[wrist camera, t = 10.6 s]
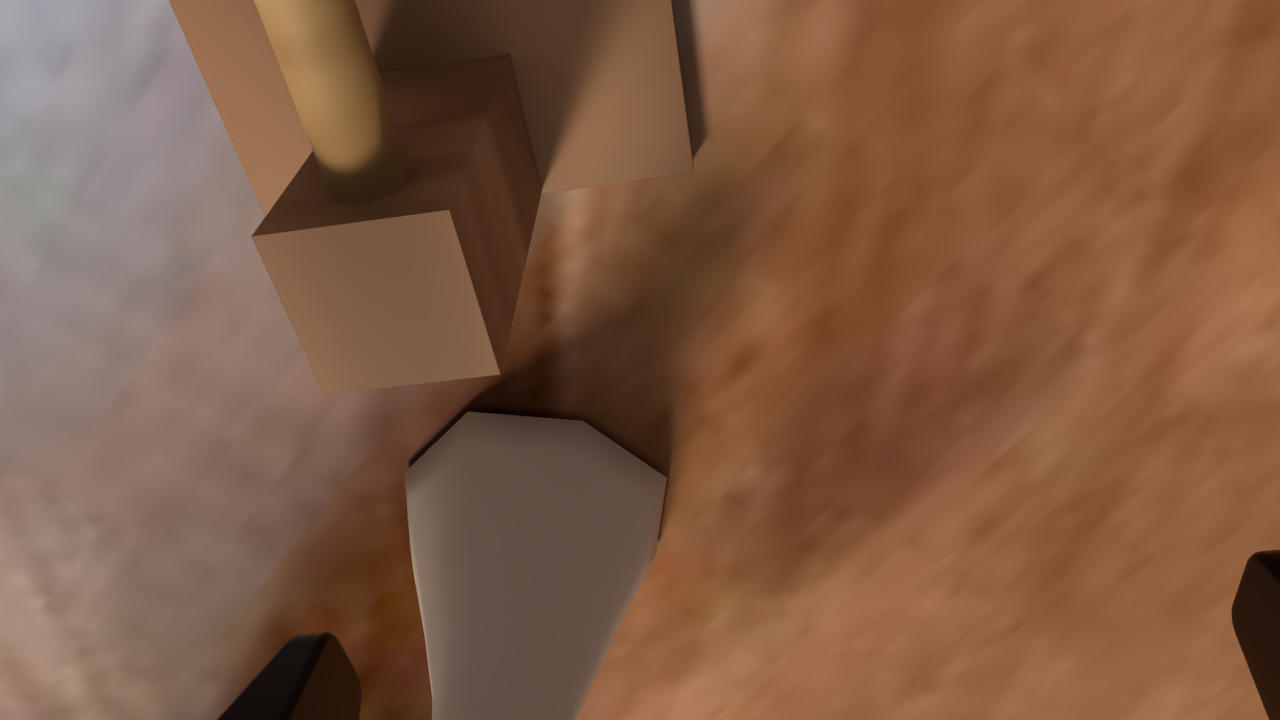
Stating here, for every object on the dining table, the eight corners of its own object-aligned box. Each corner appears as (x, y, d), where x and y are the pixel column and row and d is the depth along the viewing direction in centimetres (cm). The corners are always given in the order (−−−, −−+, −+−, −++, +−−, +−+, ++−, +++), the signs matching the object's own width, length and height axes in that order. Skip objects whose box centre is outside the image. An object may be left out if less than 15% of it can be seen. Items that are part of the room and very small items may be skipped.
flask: (713, 457, 24) (737, 848, 16) (607, 618, 28) (585, 995, 20) (444, 366, 23) (325, 749, 15) (373, 550, 27) (249, 929, 19)
